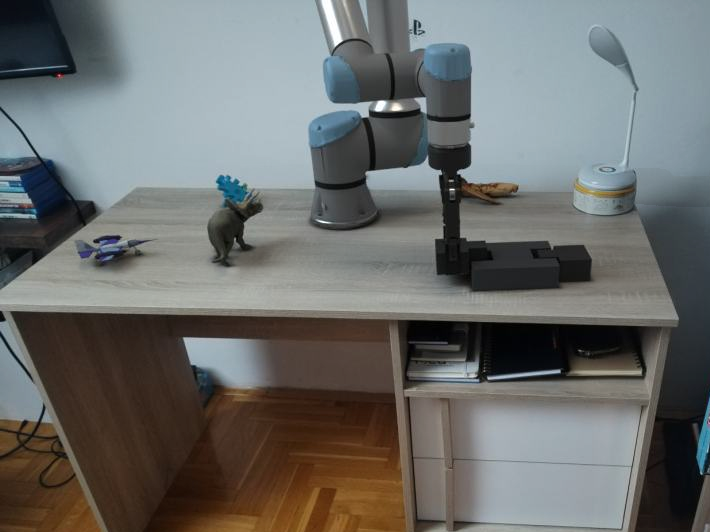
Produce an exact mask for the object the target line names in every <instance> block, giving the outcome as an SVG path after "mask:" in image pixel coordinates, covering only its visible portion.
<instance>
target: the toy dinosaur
mask: <svg viewBox="0 0 710 532" xmlns="http://www.w3.org/2000/svg"><path fill="white" fill-rule="evenodd" d="M255 189H256V188H253V189H251V190H250V191H249V192H250V193H248V194H247V195H246V196H245V198H244V200H243V201H242V202H241V203H240V202H238V203H237V202H236V203H234V202H232V201H231V200H230V199H228V198H224V197H223V198H224V201H225V203H226V207H227V208H223V209H220V210H216V211H215V212H214V213H213V214H212V216H211V217H210V218H209V219H208V223H207V226H206V229H207V236H208V240H209V242H210V244H211V246H212V247H213V249H214V250H215V252H216V255H214V257H213V258H214V259H213V260H211V264H221V265H223V266H226V267H230V266H231V263H230V262H229V261H228V260H227V259H228V255H229V254H230V252H231V251H232V249H233V247H234V245H235V242H236V243H237V244H238V246H239V247H240V249H241V250H243V251H248V250H250V248H252V244H249V243H246V242H245V240H244V233H245V232H244V231H245V227H246V226H245V223H246V222H247V221H248V220H250V219H251V218H252V217H255V216H256V215H258V214H261V213H262V211H263V210H264V204H263V203H262V202H261V198H258V199H257V200H256V201H255V199H256V198H257V197H258V196H259V194H260V189H259V190H258V191H257V192H256V193H255V194H254V195H253V193H254V191H255ZM251 194H252V197H251V198H250V199H249V197H250V195H251ZM248 199H249V200H248ZM253 200H254V202H253V203H252V201H253ZM224 201H223V202H224Z"/></svg>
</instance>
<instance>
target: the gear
mask: <svg viewBox="0 0 710 532" xmlns="http://www.w3.org/2000/svg"><path fill="white" fill-rule="evenodd" d="M214 182H215V184H218V185H217V186H216V189H217V190H218V191H221V192H222V193H221V194H222V197H223V198H225V199H226V198H228V199H230V200H231V201H232V202H234V203H236V204H237V203H241V202H242V201H243V200H244V198H245V196H246V195H247V194H248V193H250V192H251V191H247V190H248V186H249V185H248V184H247V183H246V182H244V183H243V184H242V185H240V183H241V182H240V180H239V179H238V178H234V180H233V181H232V176H231V175H229V174H226V175H225V176H224V175H223V174H219V175H218V177H217V178H216V180H214ZM252 196H253V193H252V194H251V195H250V197H249V199H250V198H251V197H252ZM249 199H248V200H249ZM254 202H255V199H254V200H253V201H252V203H254ZM221 205H222V206H223V207H227V205H226V203H225V201H223V202H222V203H221Z"/></svg>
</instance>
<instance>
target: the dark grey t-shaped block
mask: <svg viewBox="0 0 710 532" xmlns="http://www.w3.org/2000/svg"><path fill="white" fill-rule="evenodd" d="M460 239H461V243H460V272H461V275H469V274H470V271H469V270H471V261H487V245H486V243H487V242H486V240H468V239H467V237H460ZM442 240H445V239H443V238H435V239H434V247H435V248H434V249H435V250H434V251H435V252H434V253H435V267H436V276H446V264H445V244H442Z"/></svg>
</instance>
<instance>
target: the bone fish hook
mask: <svg viewBox="0 0 710 532" xmlns="http://www.w3.org/2000/svg"><path fill="white" fill-rule="evenodd" d="M461 178H462V188H461V197H465V198H468V197H471V198H476V199H478V200H481V201H484V202H486V203H489V204H493V205H500V204H501V202H500V201H499V200H496V199H495V198H492V197H499V196H500V197H502V196H509V195H512V193H514V194H516V193H518V191H519V186H520V185H519V184H517V183H512V182H488V183H473V182H468V181H467V180H466V178H464V177H462V176H461Z"/></svg>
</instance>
